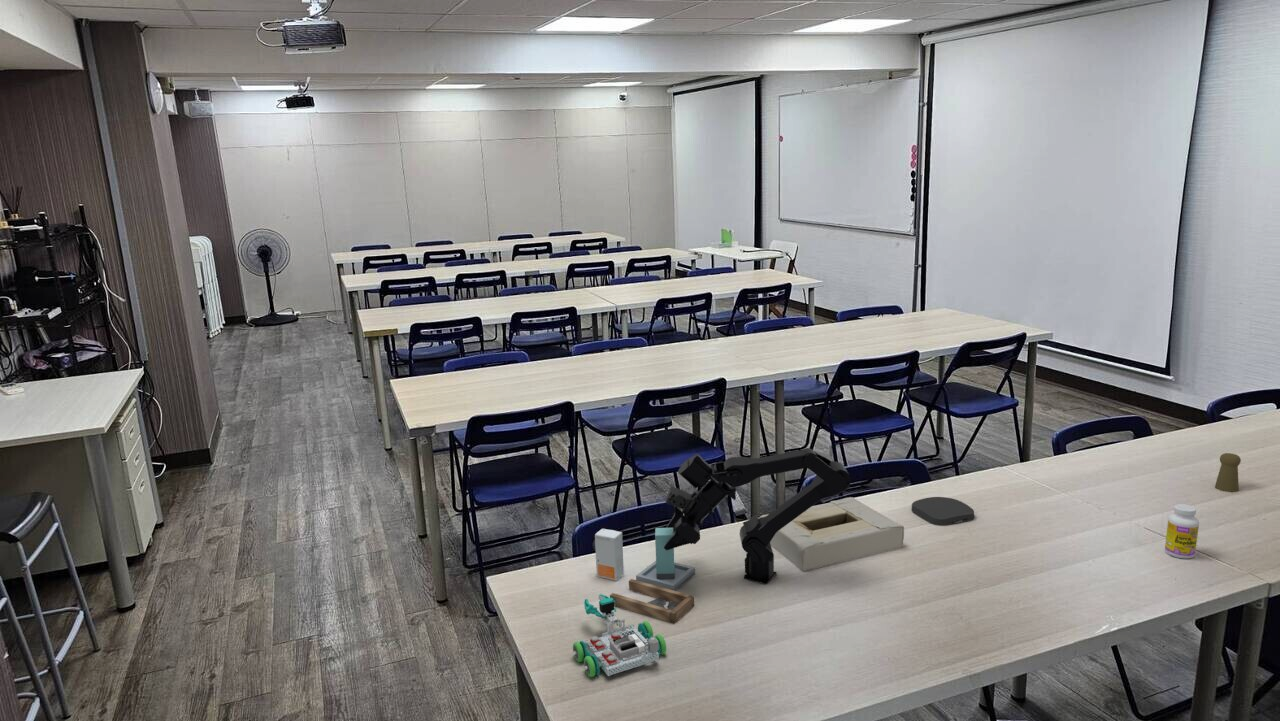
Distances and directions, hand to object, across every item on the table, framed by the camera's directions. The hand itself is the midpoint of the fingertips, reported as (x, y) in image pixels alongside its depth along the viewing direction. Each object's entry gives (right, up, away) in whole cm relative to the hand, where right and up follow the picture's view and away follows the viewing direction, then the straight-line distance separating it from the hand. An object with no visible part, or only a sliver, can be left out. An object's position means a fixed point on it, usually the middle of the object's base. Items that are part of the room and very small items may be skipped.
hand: (665, 540), depth 212 cm
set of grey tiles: (-1, -14, -13) cm, 19 cm away
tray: (0, -10, +2) cm, 10 cm away
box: (+46, -5, +19) cm, 50 cm away
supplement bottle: (+133, -4, +4) cm, 133 cm away
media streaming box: (+83, 0, +35) cm, 90 cm away
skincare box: (-14, -10, +5) cm, 18 cm away
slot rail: (-4, -13, -10) cm, 17 cm away
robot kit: (-13, -18, -27) cm, 35 cm away
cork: (+173, +6, +45) cm, 179 cm away
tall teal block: (0, -9, +2) cm, 9 cm away
